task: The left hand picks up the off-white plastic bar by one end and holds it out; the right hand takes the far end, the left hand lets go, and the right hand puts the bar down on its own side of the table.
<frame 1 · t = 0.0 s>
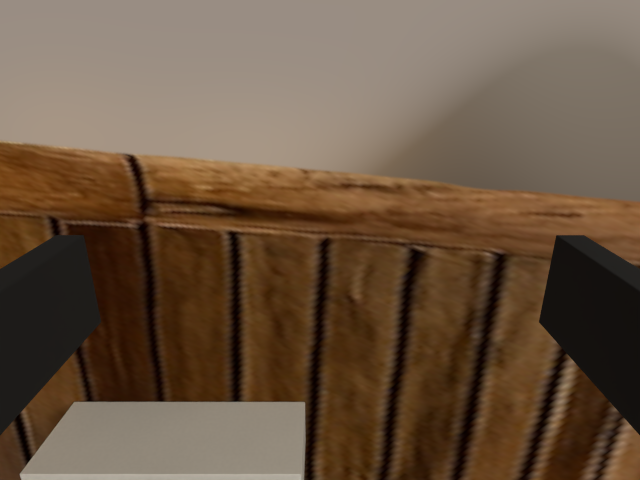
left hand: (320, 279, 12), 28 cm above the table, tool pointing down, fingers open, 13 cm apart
bar: (191, 420, 50), on the table
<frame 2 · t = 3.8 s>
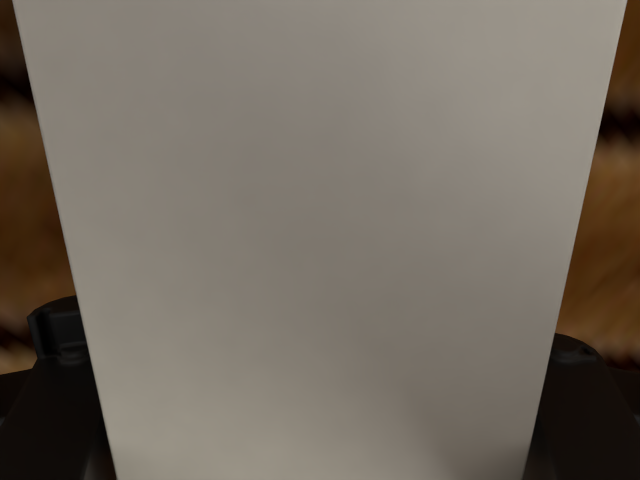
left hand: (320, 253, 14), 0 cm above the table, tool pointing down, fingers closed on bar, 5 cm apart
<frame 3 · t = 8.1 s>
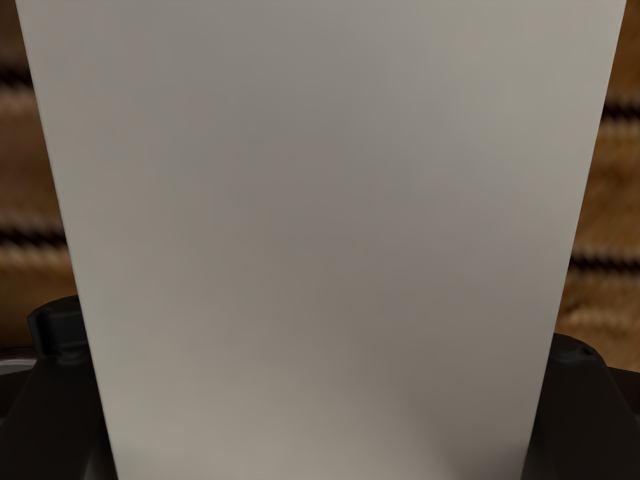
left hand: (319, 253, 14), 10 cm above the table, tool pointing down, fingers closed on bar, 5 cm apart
when the left hand's fingers open (10 cm above the table, at t = 9.1 s): bar stays where it is, held by the right hand.
when the right hand's fingers open (6 cm above the table, at t = 14.4 s): bar drops 2 cm, on the table.
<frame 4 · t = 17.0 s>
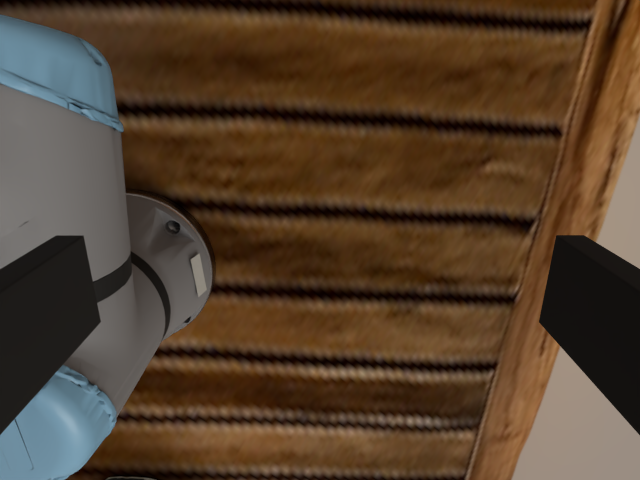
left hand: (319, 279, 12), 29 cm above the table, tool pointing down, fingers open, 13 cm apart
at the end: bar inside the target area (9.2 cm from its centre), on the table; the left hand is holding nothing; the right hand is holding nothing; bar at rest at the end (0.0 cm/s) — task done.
